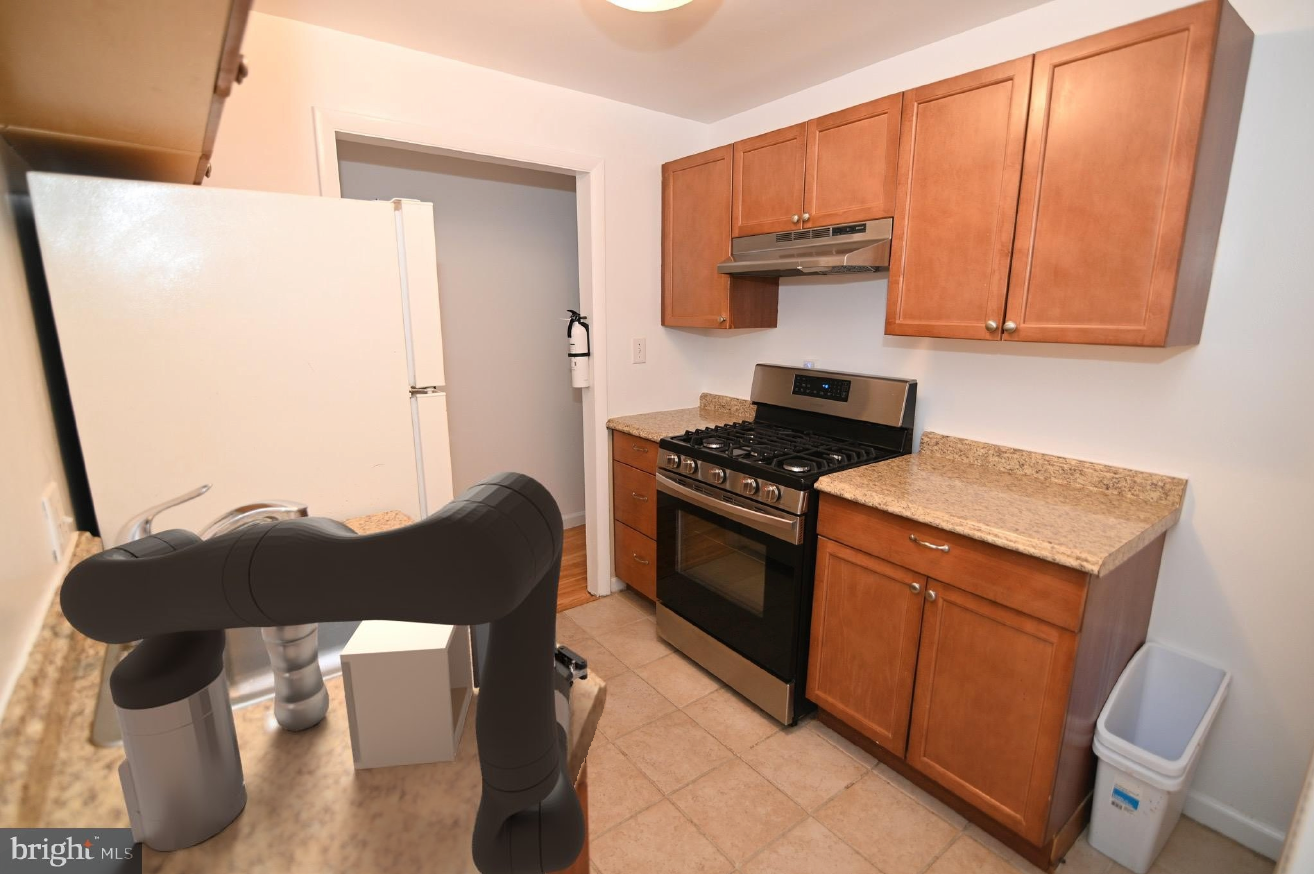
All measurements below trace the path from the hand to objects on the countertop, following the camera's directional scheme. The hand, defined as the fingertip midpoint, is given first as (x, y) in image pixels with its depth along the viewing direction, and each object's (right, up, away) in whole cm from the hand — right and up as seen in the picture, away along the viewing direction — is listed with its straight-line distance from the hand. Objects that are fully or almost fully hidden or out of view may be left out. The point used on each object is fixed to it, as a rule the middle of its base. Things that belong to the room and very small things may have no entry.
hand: (544, 637), depth 89 cm
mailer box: (-16, -9, -8) cm, 20 cm away
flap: (-5, -6, +3) cm, 8 cm away
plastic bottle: (-32, -9, -7) cm, 34 cm away
